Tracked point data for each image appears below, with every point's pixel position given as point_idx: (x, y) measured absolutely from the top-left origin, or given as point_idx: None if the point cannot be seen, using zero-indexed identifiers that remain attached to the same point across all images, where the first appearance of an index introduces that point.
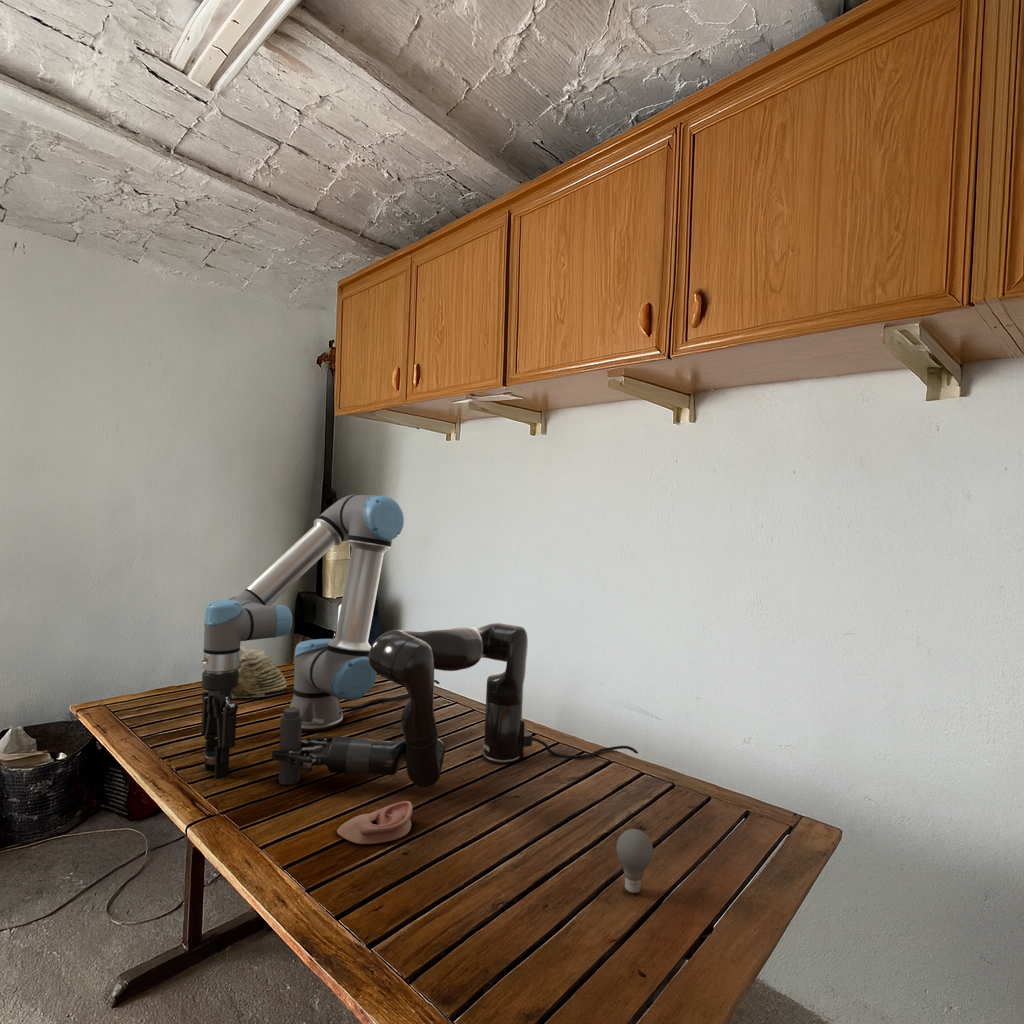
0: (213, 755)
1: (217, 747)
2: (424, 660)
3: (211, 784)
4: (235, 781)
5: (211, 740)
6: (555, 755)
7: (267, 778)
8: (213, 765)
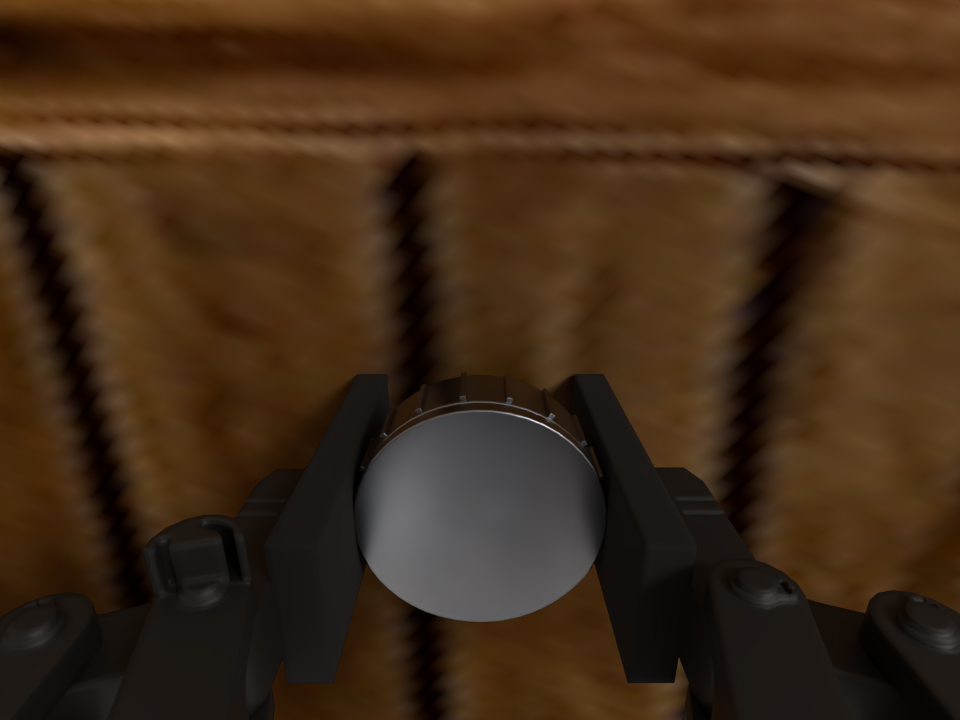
0: (434, 476)
1: (189, 563)
2: None
3: (262, 302)
4: (211, 460)
5: (657, 605)
6: None
7: None
8: None
